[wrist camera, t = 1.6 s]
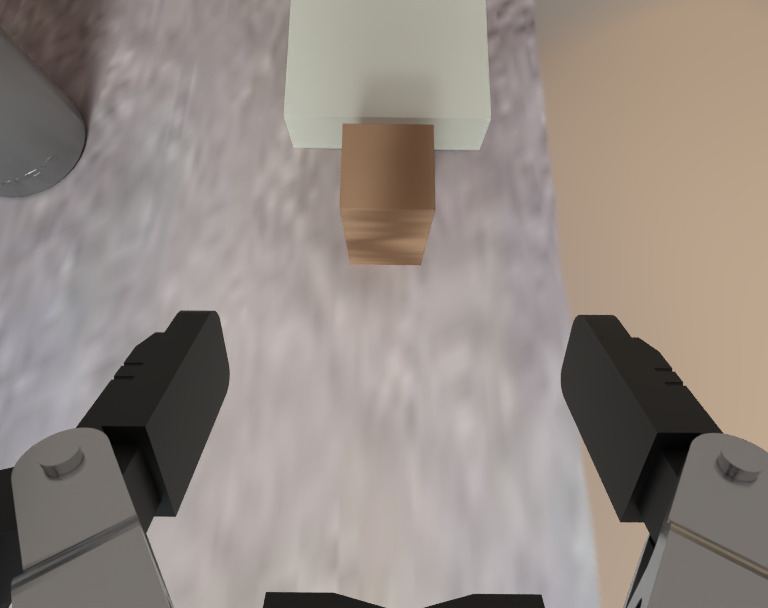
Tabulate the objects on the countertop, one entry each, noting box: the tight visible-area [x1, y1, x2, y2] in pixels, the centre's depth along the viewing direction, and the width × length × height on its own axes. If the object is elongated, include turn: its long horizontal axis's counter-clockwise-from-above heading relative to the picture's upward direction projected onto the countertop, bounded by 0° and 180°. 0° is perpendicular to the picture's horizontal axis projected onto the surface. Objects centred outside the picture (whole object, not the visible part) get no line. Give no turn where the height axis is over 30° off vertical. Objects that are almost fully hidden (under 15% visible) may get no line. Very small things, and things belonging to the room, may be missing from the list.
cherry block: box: [340, 123, 435, 265], centre depth 31 cm, size 5×5×10 cm
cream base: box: [284, 0, 491, 150], centre depth 37 cm, size 14×14×4 cm
